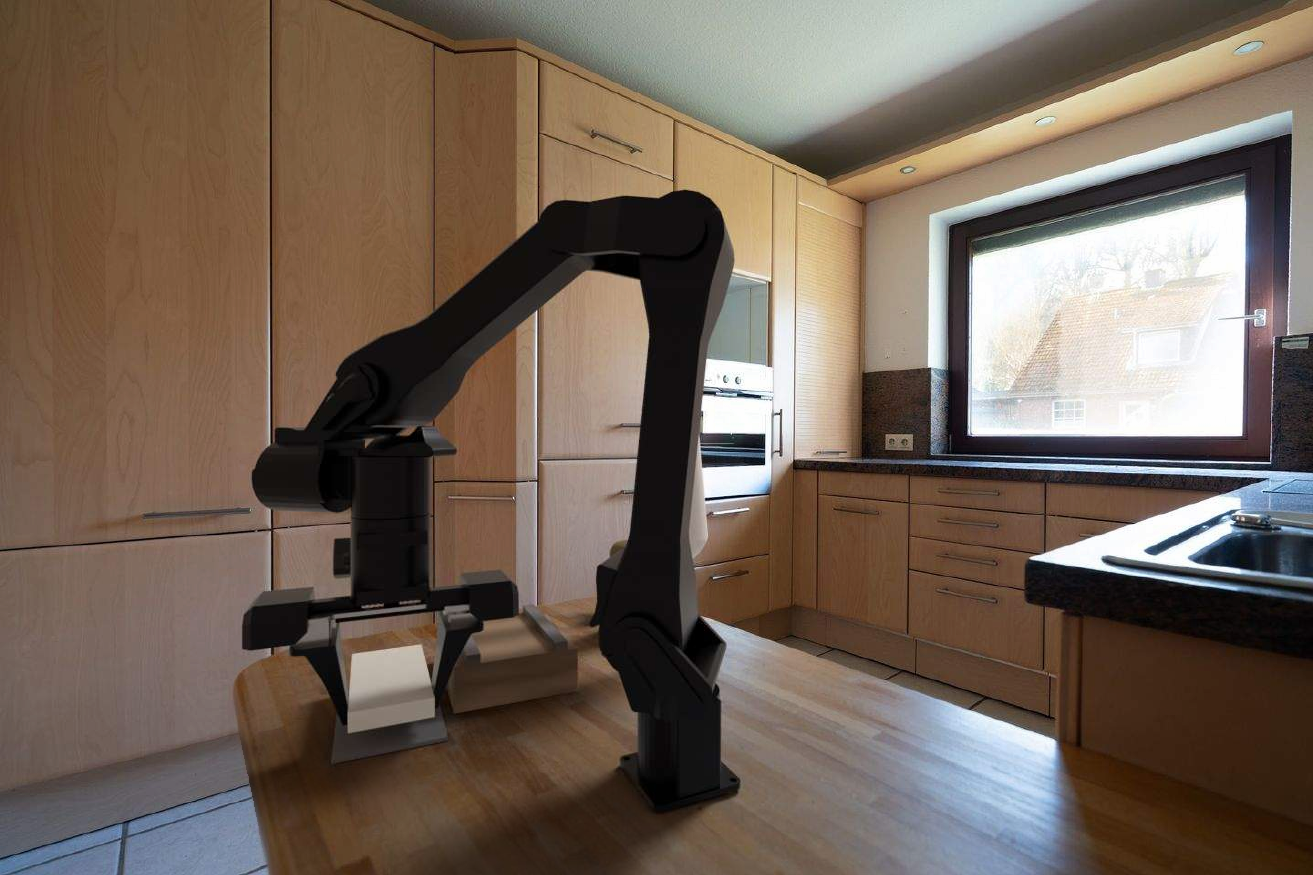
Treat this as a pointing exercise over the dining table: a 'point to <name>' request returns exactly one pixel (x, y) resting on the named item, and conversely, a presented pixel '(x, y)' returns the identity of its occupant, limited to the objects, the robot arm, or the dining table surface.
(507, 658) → the lid box
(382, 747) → the mat
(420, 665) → the cover plate
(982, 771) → the dining table surface
